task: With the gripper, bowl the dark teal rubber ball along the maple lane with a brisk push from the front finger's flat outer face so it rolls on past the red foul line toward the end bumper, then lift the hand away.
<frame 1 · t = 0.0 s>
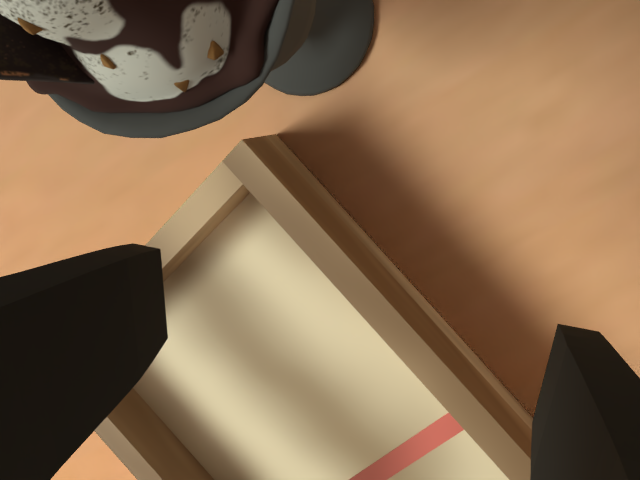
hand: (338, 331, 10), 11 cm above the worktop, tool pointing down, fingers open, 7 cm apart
sundae: (305, 20, 20), on the worktop
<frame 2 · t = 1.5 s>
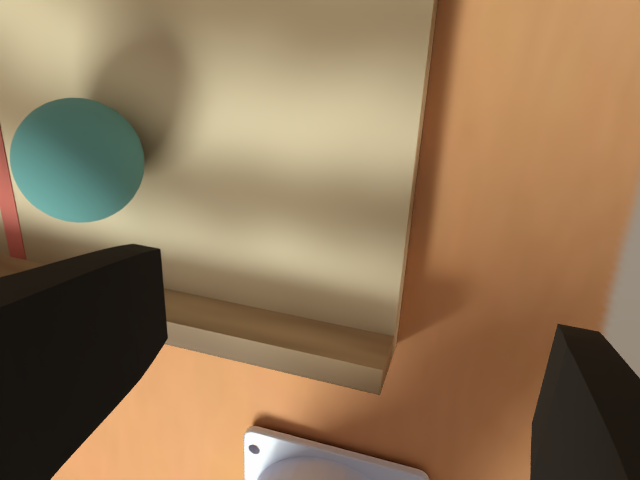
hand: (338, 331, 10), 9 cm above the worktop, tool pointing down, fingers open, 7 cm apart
lane: (55, 128, 22), on the worktop
ball: (80, 161, 18), point 3 cm above the worktop, touching lane
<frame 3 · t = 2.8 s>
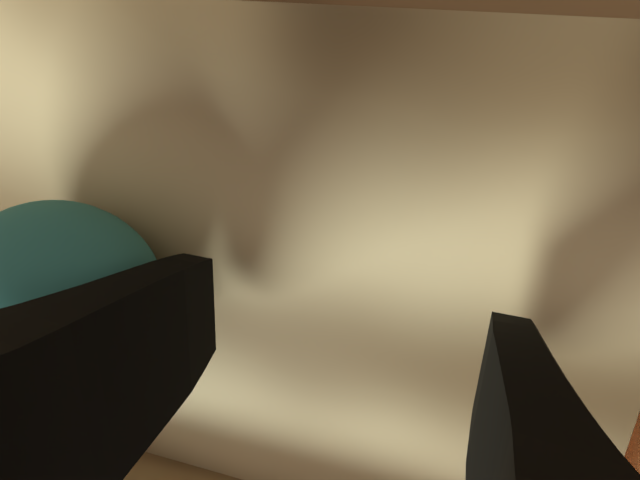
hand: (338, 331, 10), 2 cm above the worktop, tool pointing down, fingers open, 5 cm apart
lane: (28, 224, 14), on the worktop
ball: (57, 305, 11), point 3 cm above the worktop, touching gripper, lane
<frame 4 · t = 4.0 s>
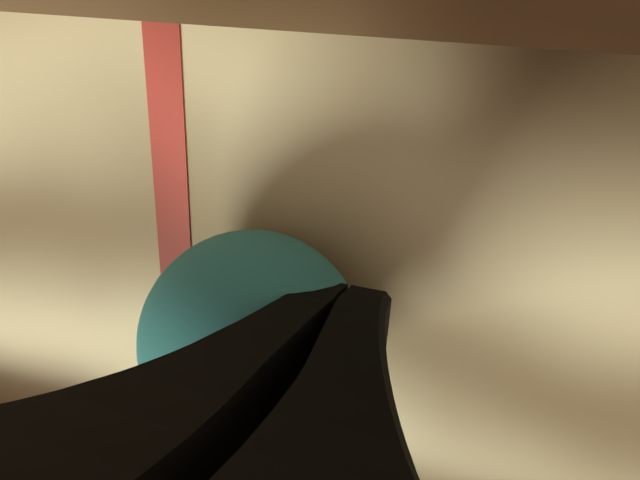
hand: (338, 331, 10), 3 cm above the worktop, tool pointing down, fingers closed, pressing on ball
lane: (276, 274, 13), on the worktop
ball: (252, 339, 10), point 3 cm above the worktop, tilted 82°, touching gripper, lane
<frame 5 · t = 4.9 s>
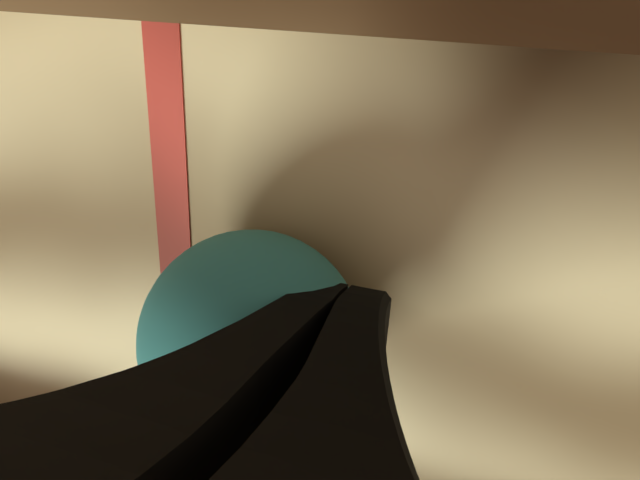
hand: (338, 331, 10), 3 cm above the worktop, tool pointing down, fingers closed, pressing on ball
lane: (276, 274, 13), on the worktop
ball: (251, 339, 10), point 3 cm above the worktop, tilted 83°, touching gripper, lane
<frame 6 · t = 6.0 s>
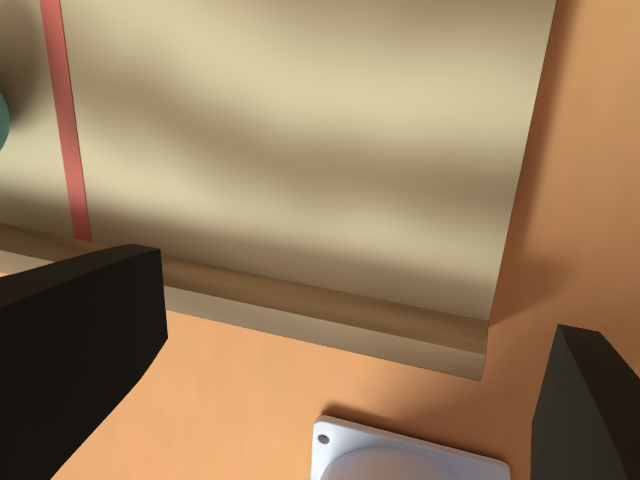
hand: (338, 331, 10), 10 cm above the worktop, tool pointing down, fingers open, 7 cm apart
lane: (128, 104, 21), on the worktop
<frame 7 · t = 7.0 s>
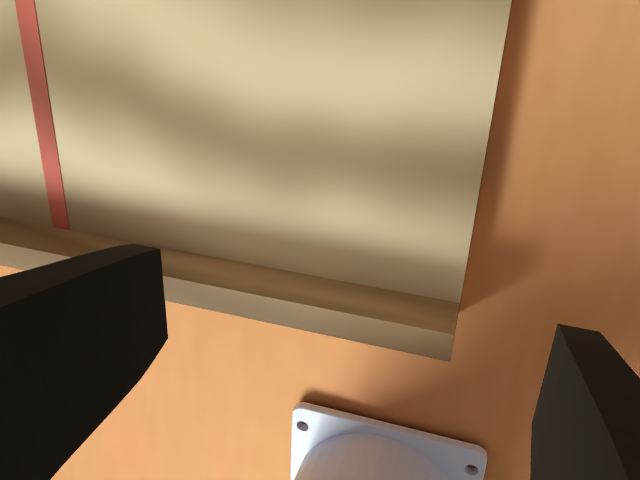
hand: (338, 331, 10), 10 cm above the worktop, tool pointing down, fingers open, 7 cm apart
lane: (103, 92, 21), on the worktop
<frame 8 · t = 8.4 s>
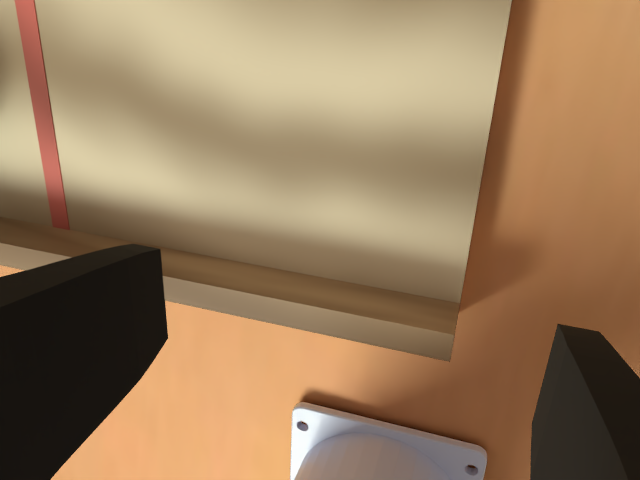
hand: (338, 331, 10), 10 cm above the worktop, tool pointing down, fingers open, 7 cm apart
lane: (103, 92, 21), on the worktop
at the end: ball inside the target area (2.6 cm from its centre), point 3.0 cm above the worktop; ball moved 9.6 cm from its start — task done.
